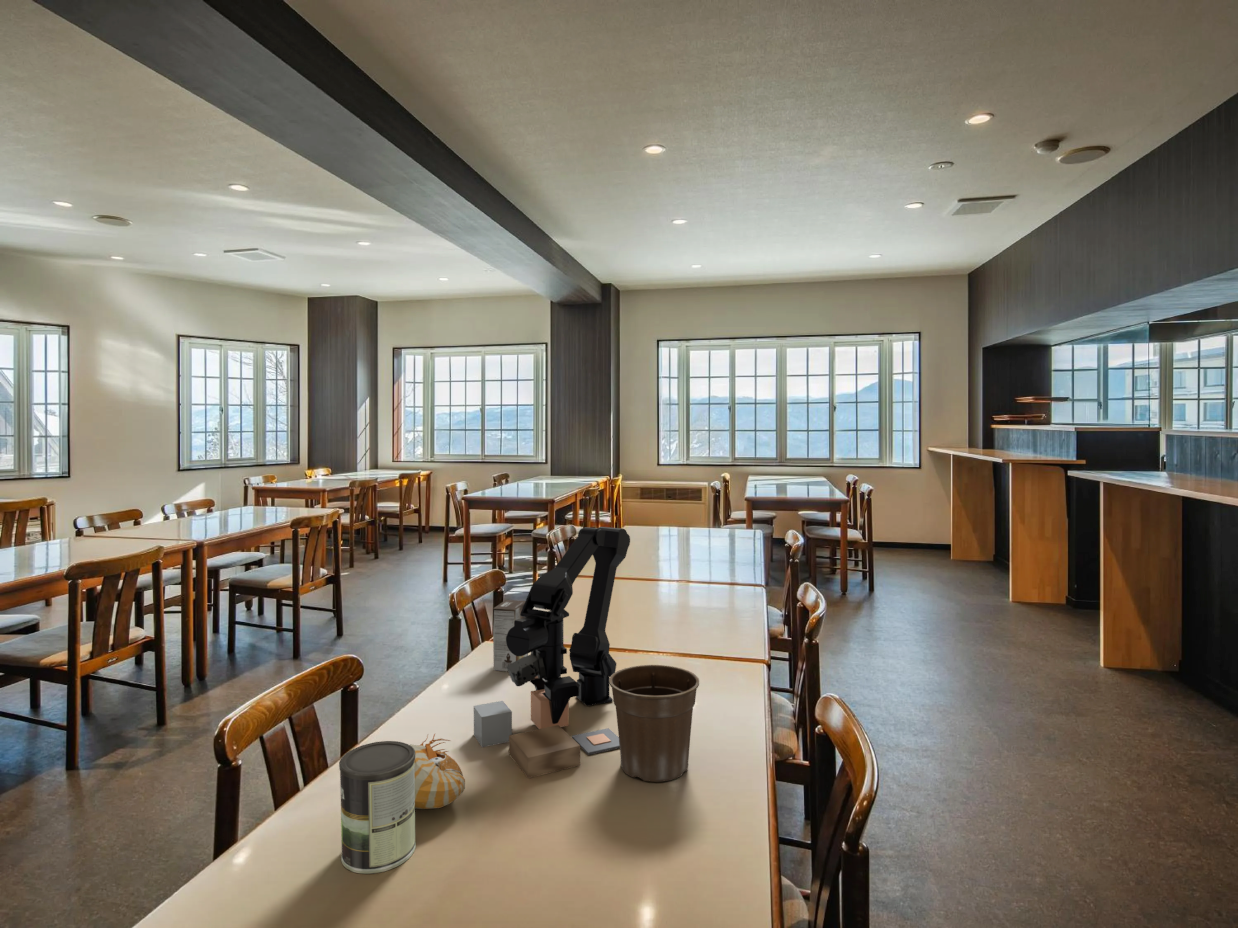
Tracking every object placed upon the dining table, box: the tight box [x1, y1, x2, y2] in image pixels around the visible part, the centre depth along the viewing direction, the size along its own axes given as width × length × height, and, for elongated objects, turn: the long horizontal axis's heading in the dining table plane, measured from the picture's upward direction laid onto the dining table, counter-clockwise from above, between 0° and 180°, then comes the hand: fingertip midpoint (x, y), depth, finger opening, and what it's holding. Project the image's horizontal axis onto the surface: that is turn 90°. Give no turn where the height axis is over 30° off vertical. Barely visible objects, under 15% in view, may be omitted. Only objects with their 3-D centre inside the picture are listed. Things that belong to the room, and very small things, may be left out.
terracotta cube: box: [530, 689, 570, 729], centre depth 142 cm, size 6×6×6 cm
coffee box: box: [492, 599, 529, 672], centre depth 179 cm, size 9×6×16 cm
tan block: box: [508, 725, 581, 779], centre depth 128 cm, size 10×10×4 cm
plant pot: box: [609, 664, 700, 783], centre depth 125 cm, size 16×16×16 cm
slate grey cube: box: [473, 700, 513, 748], centre depth 137 cm, size 6×6×6 cm
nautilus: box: [409, 733, 466, 810], centre depth 117 cm, size 8×22×15 cm
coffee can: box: [338, 740, 417, 875], centre depth 100 cm, size 10×10×14 cm
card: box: [571, 727, 620, 756], centre depth 135 cm, size 8×8×1 cm
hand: (549, 717), depth 142 cm, fingers closed on terracotta cube, 6 cm apart
